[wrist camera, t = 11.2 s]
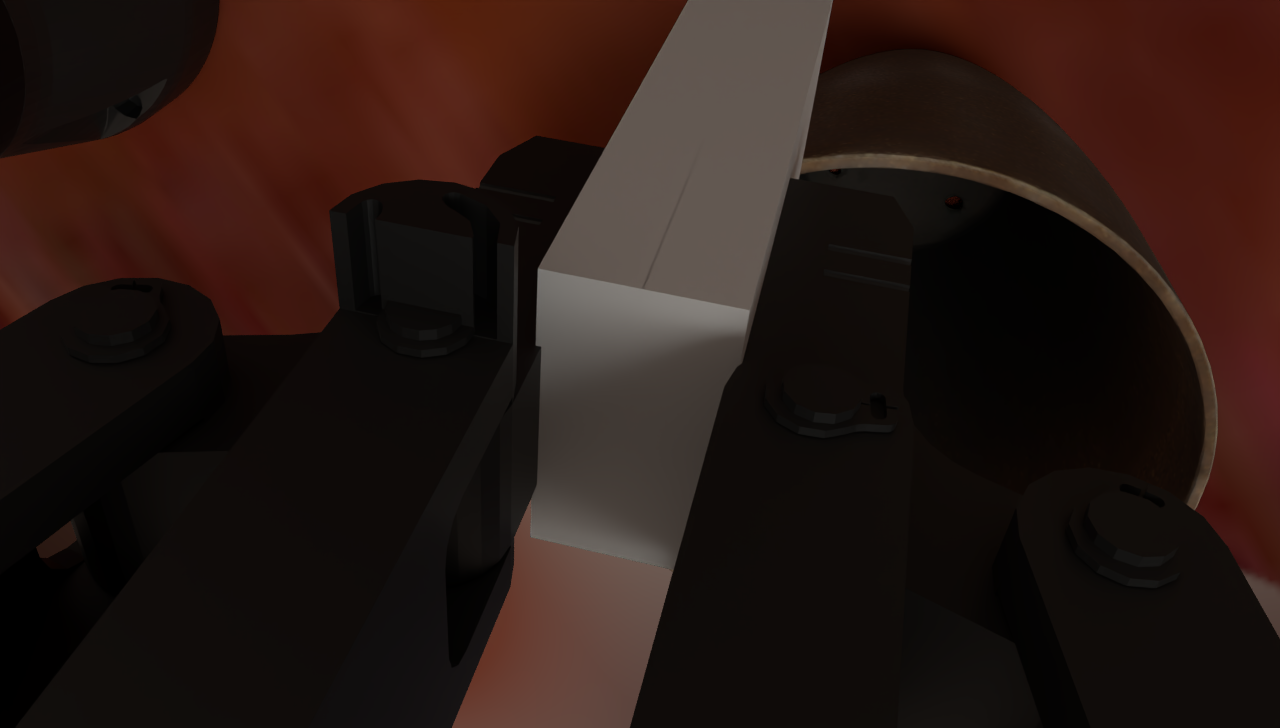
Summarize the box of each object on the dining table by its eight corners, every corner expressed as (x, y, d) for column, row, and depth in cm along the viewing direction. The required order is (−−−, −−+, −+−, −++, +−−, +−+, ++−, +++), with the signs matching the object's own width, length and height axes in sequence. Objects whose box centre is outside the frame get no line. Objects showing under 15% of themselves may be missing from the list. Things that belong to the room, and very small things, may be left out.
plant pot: (641, 240, 44) (512, 528, 31) (777, -146, 34) (668, 48, 22) (998, 377, 44) (1009, 720, 31) (1232, 30, 34) (1382, 324, 22)
